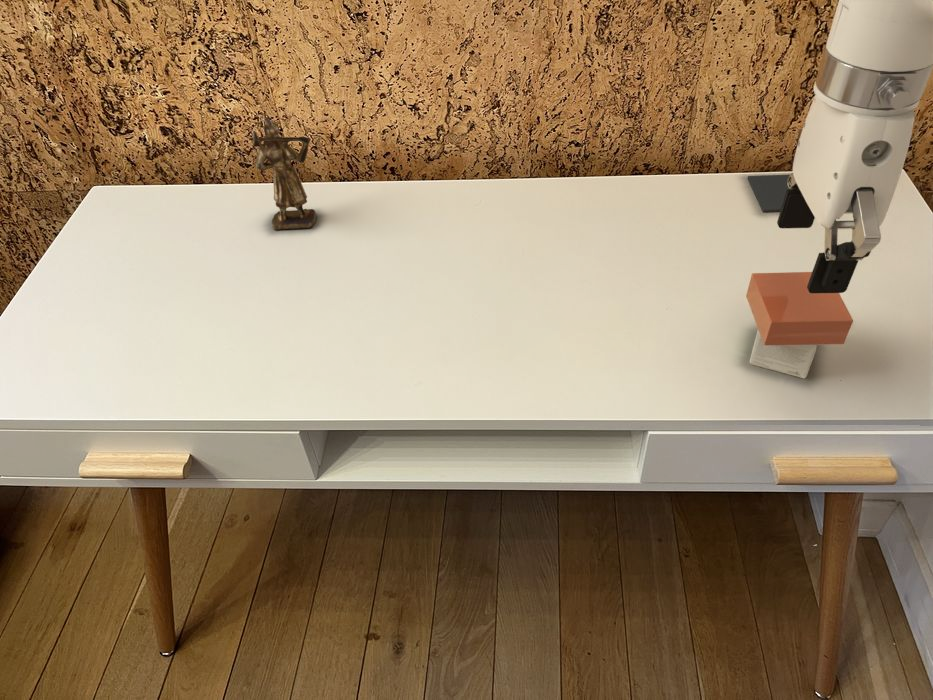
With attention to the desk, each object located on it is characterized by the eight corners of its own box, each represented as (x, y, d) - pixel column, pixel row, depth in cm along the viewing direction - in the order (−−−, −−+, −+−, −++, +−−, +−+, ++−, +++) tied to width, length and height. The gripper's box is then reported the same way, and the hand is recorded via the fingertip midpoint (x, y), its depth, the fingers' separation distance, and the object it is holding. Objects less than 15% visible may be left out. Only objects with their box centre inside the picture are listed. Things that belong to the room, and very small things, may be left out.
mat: (830, 210, 94) (831, 207, 94) (762, 212, 94) (763, 209, 94) (810, 176, 100) (811, 173, 100) (747, 178, 101) (747, 175, 100)
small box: (758, 330, 79) (768, 295, 75) (814, 345, 77) (828, 309, 73) (746, 364, 75) (757, 329, 72) (805, 381, 73) (819, 345, 70)
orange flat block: (844, 344, 70) (853, 320, 67) (764, 345, 70) (771, 322, 68) (819, 294, 75) (828, 271, 73) (745, 296, 75) (751, 273, 73)
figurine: (329, 212, 101) (306, 109, 90) (325, 228, 98) (300, 123, 87) (276, 215, 101) (247, 112, 91) (270, 231, 98) (240, 126, 88)
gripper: (975, 129, 49) (885, 319, 61) (880, 30, 62) (821, 204, 73) (860, 132, 50) (793, 320, 62) (789, 33, 62) (745, 205, 74)
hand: (808, 257), depth 67 cm, fingers open, 9 cm apart
